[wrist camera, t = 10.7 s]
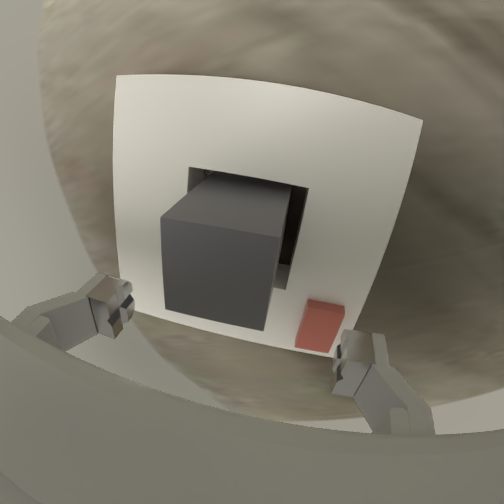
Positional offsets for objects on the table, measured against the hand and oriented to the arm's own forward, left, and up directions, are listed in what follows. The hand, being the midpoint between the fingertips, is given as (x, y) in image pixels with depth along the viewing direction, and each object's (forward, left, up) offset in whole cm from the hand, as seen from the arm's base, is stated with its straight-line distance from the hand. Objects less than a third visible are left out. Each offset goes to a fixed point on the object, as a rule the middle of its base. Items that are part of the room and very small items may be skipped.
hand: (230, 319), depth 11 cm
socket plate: (+1, -1, -7) cm, 7 cm away
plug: (+1, -1, -7) cm, 8 cm away
